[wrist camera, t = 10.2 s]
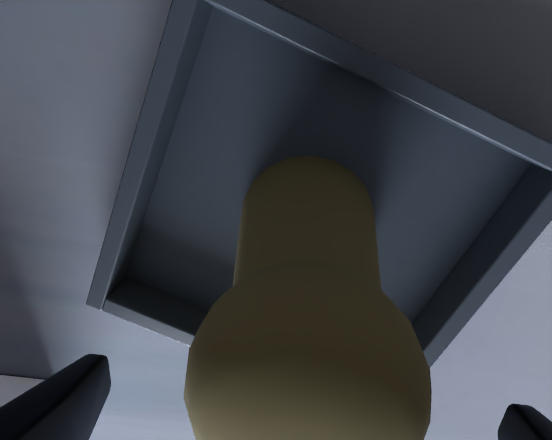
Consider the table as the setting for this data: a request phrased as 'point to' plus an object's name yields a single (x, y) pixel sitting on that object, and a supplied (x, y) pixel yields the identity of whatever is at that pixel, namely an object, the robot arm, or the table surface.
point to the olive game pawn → (307, 322)
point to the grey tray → (317, 142)
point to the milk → (15, 387)
